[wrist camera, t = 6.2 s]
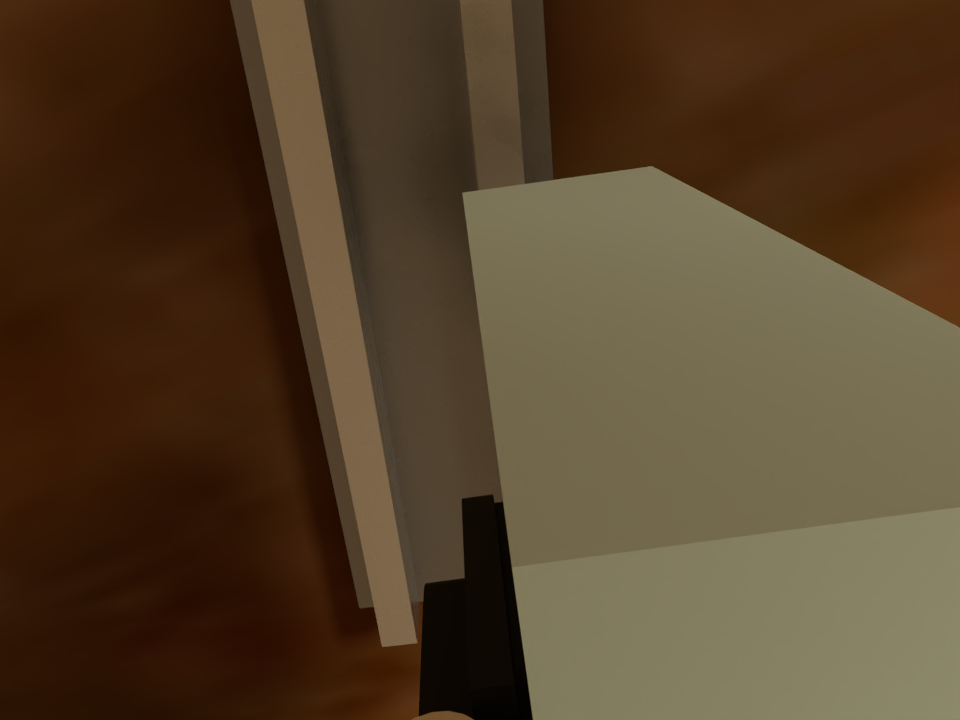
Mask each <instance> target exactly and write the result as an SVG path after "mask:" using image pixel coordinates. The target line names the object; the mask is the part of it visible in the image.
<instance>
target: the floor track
mask: <svg viewBox="0 0 960 720" xmlns="http://www.w3.org/2000/svg"><path fill="white" fill-rule="evenodd" d="M230 3H231V8H232V13H233V18H234V22H235V27H236V32H237V36H238V41H239V46H240V50H241V55H242V60H243V64H244V69H245V74H246V79H247V83H248V88H249V93H250V97H251V102H252V107H253V111H254V116H255V121H256V126H257V130H258V135H259V140H260V144H261V149H262V154H263V158H264V163H265V168H266V172H267V177H268V182H269V187H270V191H271V196H272V201H273V205H274V210H275V215H276V219H277V224H278V229H279V233H280V238H281V243H282V248H283V252H284V257H285V262H286V266H287V271H288V276H289V280H290V285H291V290H292V294H293V299H294V304H295V309H296V313H297V318H298V323H299V327H300V332H301V337H302V341H303V346H304V351H305V356H306V360H307V365H308V370H309V374H310V379H311V384H312V388H313V393H314V398H315V402H316V407H317V412H318V417H319V421H320V426H321V431H322V435H323V440H324V445H325V449H326V454H327V459H328V463H329V468H330V473H331V478H332V482H333V487H334V492H335V496H336V501H337V506H338V510H339V515H340V520H341V525H342V529H343V534H344V539H345V543H346V548H347V553H348V557H349V562H350V567H351V571H352V576H353V581H354V586H355V590H356V595H357V600H358V604H359V608H367V607H374V609H375V614H376V619H377V624H378V629H379V634H380V639H381V644H382V647H386V646H395V645H404V644H413V643H417V638H418V617H419V602H422V601H423V595H424V586H425V583H432V582H439V581H446V580H454V579H461V578H465V576H464V550H463V525H462V498H469V497H476V496H484V495H491V494H493V496H494V503H496V502H503V497H502V489H501V482H500V474H499V467H498V459H497V451H496V444H495V436H494V429H493V421H492V414H491V406H490V398H489V391H488V383H487V376H486V368H485V361H484V353H483V345H482V338H481V330H480V323H479V315H478V308H477V300H476V293H475V285H474V277H473V270H472V262H471V255H470V247H469V240H468V232H467V224H466V217H465V209H464V202H463V194H462V193H464V192H471V191H478V190H486V189H493V188H500V187H507V186H514V185H522V184H529V183H536V182H543V181H550V180H553V165H552V148H551V131H550V114H549V96H548V79H547V62H546V45H545V28H544V11H543V0H230Z"/></svg>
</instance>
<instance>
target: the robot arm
mask: <svg viewBox="0 0 960 720" xmlns="http://www.w3.org/2000/svg"><path fill="white" fill-rule="evenodd" d="M462 525H463V550H464V576H465V578H461V579H454V580H446V581H439V582H432V583H425V586H424V595H423V621H422V648H421V674H420V700H419V717H416V718H414V719H413V720H533V716H532V709H531V702H530V695H529V687H528V680H527V673H526V666H525V659H524V651H523V644H522V637H521V630H520V623H519V615H518V608H517V601H516V594H515V587H514V579H513V572H512V565H511V557H510V550H509V542H508V535H507V527H506V519H505V512H504V504H503V502H496V503H494V496H493V494H491V495H484V496H476V497H469V498H462Z"/></svg>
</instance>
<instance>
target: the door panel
mask: <svg viewBox="0 0 960 720" xmlns="http://www.w3.org/2000/svg"><path fill="white" fill-rule="evenodd" d="M462 194H463V202H464V209H465V217H466V224H467V232H468V240H469V247H470V255H471V262H472V270H473V277H474V285H475V293H476V300H477V308H478V315H479V323H480V330H481V338H482V345H483V353H484V361H485V368H486V376H487V383H488V391H489V398H490V406H491V414H492V421H493V429H494V436H495V444H496V451H497V459H498V467H499V474H500V482H501V489H502V497H503V504H504V512H505V519H506V527H507V535H508V542H509V550H510V557H511V565H512V572H513V579H514V587H515V594H516V601H517V608H518V615H519V623H520V630H521V637H522V644H523V651H524V659H525V666H526V673H527V680H528V687H529V695H530V702H531V709H532V716H533V720H960V328H959V327H957V326H955V325H954V324H952V323H950V322H948V321H946V320H944V319H942V318H940V317H938V316H936V315H934V314H933V313H931V312H929V311H927V310H925V309H923V308H921V307H919V306H917V305H915V304H913V303H912V302H910V301H908V300H906V299H904V298H902V297H900V296H898V295H896V294H894V293H893V292H891V291H889V290H887V289H885V288H883V287H881V286H879V285H877V284H875V283H873V282H872V281H870V280H868V279H866V278H864V277H862V276H860V275H858V274H856V273H854V272H853V271H851V270H849V269H847V268H845V267H843V266H841V265H839V264H837V263H835V262H833V261H832V260H830V259H828V258H826V257H824V256H822V255H820V254H818V253H816V252H814V251H813V250H811V249H809V248H807V247H805V246H803V245H801V244H799V243H797V242H795V241H793V240H792V239H790V238H788V237H786V236H784V235H782V234H780V233H778V232H776V231H774V230H772V229H771V228H769V227H767V226H765V225H763V224H761V223H759V222H757V221H755V220H753V219H752V218H750V217H748V216H746V215H744V214H742V213H740V212H738V211H736V210H734V209H732V208H731V207H729V206H727V205H725V204H723V203H721V202H719V201H717V200H715V199H713V198H712V197H710V196H708V195H706V194H704V193H702V192H700V191H698V190H696V189H694V188H692V187H691V186H689V185H687V184H685V183H683V182H681V181H679V180H677V179H675V178H673V177H672V176H670V175H668V174H666V173H664V172H662V171H660V170H658V169H656V168H654V167H652V166H651V167H644V168H637V169H629V170H622V171H615V172H608V173H601V174H593V175H586V176H579V177H572V178H565V179H558V180H550V181H543V182H536V183H529V184H522V185H514V186H507V187H500V188H493V189H486V190H478V191H471V192H464V193H462Z"/></svg>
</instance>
